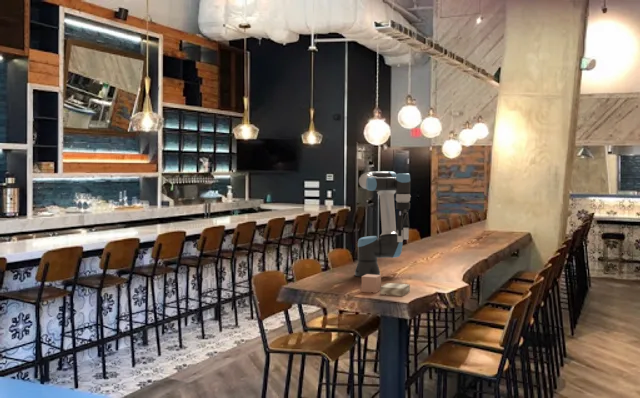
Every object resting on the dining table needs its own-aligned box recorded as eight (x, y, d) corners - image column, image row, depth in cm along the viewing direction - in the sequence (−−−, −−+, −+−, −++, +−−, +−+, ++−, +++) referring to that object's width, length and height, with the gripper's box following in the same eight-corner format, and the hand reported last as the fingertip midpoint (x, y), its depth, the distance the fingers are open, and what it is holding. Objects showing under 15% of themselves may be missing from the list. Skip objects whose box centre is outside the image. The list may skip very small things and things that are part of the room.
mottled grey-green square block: (380, 294, 321) (380, 286, 320) (387, 290, 332) (387, 283, 331) (403, 296, 316) (403, 288, 316) (409, 292, 327) (409, 284, 327)
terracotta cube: (361, 291, 327) (361, 276, 327) (366, 289, 334) (366, 274, 334) (376, 292, 324) (376, 277, 323) (381, 290, 331) (381, 275, 331)
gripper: (404, 202, 328) (404, 243, 329) (414, 200, 351) (414, 238, 352) (390, 202, 331) (390, 242, 331) (401, 200, 354) (401, 238, 355)
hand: (403, 240), depth 342 cm, fingers open, 13 cm apart
